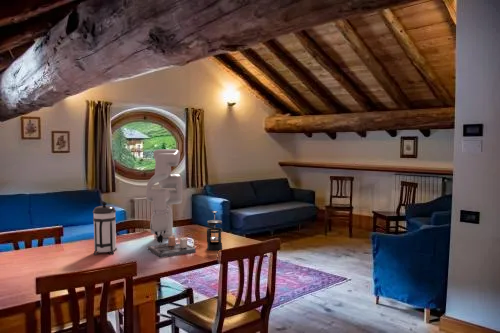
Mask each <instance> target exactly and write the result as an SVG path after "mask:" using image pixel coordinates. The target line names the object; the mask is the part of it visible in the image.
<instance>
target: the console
mask: <svg viewBox="0 0 500 333" xmlns="http://www.w3.org/2000/svg"><path fill="white" fill-rule="evenodd" d="M147 251H148V252H150V253H152V254H153V255H155V256H156V257H158V258H159V259H160V258H167V257H174V256H180V255H185V254H192V253H196V252H197V250H196V248H195V247H193V246H192V245H191V244H187V248H181V247H180V244H176V246H169V245H168V243H167V244H165V243H163V244H158V245H151V246H147Z"/></svg>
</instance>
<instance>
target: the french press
mask: <svg viewBox="0 0 500 333" xmlns="http://www.w3.org/2000/svg"><path fill="white" fill-rule="evenodd" d="M211 213H212V214H213V216H214V218H213V219H212V220H211V219H210V220H207V226H209V227H208V228H206V243H207V246H206V247H207V248H206V250H207V251H210V252H215V251H216V252H217V251H221V250H220V249H222V250H223V243H222V239H223V237H222V232H223V229H222V228H221V227H216V225H222V223H223V221H222V220H219V219H216V213H218V211H216V210H212V211H211ZM212 234H214V236H212ZM216 234H217V236H216Z"/></svg>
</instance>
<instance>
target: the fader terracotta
mask: <svg viewBox="0 0 500 333" xmlns="http://www.w3.org/2000/svg"><path fill="white" fill-rule="evenodd" d="M167 239H168V240H167V244H168V245H169V246H176V243H177V242H176V236H170V237H168V238H167Z"/></svg>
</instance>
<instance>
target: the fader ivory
mask: <svg viewBox="0 0 500 333" xmlns="http://www.w3.org/2000/svg"><path fill="white" fill-rule="evenodd" d="M179 242H180V247H181V248H187V245H188V239H187V238H186V237H181V238H179Z"/></svg>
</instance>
